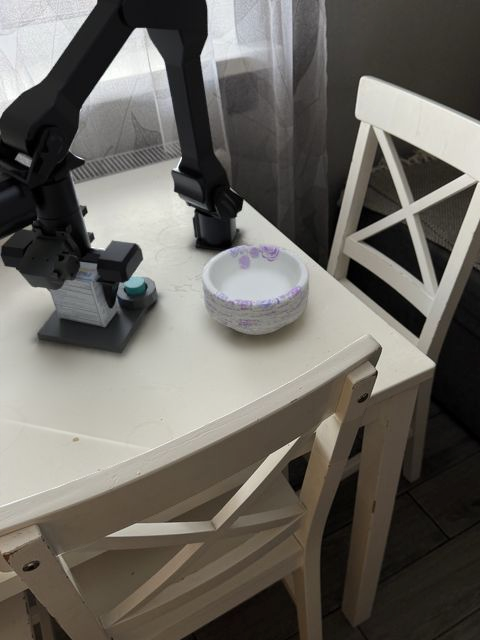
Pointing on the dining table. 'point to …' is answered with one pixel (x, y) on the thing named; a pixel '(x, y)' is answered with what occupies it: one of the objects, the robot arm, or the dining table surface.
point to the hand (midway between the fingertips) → (85, 302)
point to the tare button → (135, 286)
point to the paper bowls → (256, 288)
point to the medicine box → (84, 298)
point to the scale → (98, 336)
